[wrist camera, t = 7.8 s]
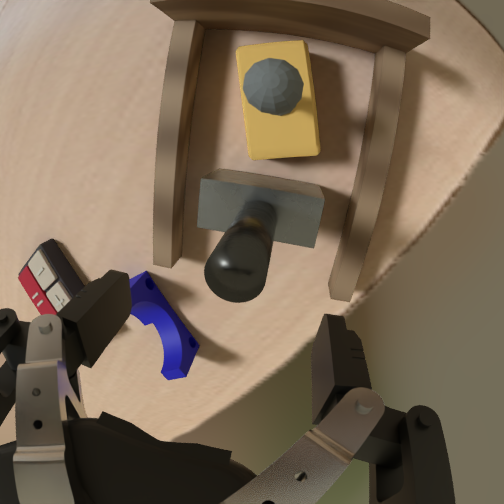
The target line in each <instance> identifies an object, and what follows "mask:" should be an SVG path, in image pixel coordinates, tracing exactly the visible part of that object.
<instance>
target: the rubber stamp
mask: <svg viewBox="0 0 504 504" xmlns="http://www.w3.org/2000/svg"><path fill="white" fill-rule="evenodd" d="M236 59H237V67H238V74H239V82H240V90H241V98H242V106H243V114H244V122H245V130H246V138H247V146H248V154H249V157H250V158H251V159H252V160H262V159H273V158H286V157H300V156H317V155H318V154H319V152H320V139H319V129H318V119H317V110H316V101H315V93H314V85H313V77H312V70H311V64H310V57H309V51H308V45H307V43H305V42H304V41H303V40H297V41H283V42H272V43H263V44H255V45H248V46H241V47H238V49H237V50H236Z"/></svg>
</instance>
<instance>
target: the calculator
mask: <svg viewBox="0 0 504 504" xmlns="http://www.w3.org/2000/svg"><path fill="white" fill-rule="evenodd" d="M18 279H19V281H20V282H21V284H22V286H23V287H24V289H25V291H26V292H27V294H28V296H29V297H30V299H31V300H32V302H33V303H34V305H35V306H36V308H37V309H38V311H39V312H40V314H41V315H44V314H53V315H56V314H57V313H58V312H59V311H60V310H61V309H62V308H63V307H64V306H65V305H66V304H67V303H68V302H69V301H70V300H71V299H72V298H73V297H74V296H75V297H76V294H77V293H78V292H80V291H81V290H82V289H83V288H84V287H85V286H84V285H83V283H82V282H81V280H80V279H79V277H78V276H77V274H76V273H75V271H74V270H73V268H72V267H71V265H70V264H69V262H68V261H67V259H66V258H65V256H64V255H63V253H62V252H61V250H60V248H59V247H58V245H57V244H56V242H55V241H54V239H50V240H48V241H46V242H44V243H42V244H40V245H39V247H38V248H37V249H36V250H35V252H34V253H33V254H32V256H31V257H30V259H29V260H28V261H27V263H26V264H25V265H24V267H23V268H22V270H21V271H20V273H19V277H18Z"/></svg>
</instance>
